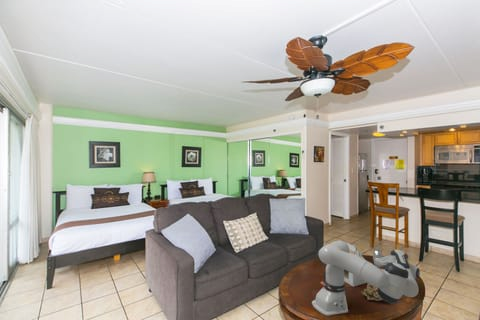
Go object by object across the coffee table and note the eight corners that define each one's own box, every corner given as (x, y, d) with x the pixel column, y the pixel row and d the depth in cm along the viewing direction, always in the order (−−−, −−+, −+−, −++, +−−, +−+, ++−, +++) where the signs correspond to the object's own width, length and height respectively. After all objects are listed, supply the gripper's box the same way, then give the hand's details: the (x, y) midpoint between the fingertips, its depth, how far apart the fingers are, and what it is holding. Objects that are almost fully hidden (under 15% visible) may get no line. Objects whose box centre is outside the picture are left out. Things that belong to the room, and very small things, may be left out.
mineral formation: (368, 290, 157) (393, 298, 145) (360, 300, 148) (386, 310, 137) (366, 279, 156) (391, 286, 145) (358, 289, 148) (383, 298, 136)
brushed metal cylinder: (379, 267, 172) (378, 252, 172) (372, 264, 177) (371, 249, 178) (384, 266, 174) (383, 251, 174) (377, 263, 180) (376, 248, 180)
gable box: (366, 283, 166) (365, 246, 166) (353, 287, 161) (352, 248, 162) (342, 270, 186) (342, 237, 187) (330, 273, 182) (330, 239, 182)
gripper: (385, 270, 160) (367, 263, 173) (403, 265, 168) (385, 258, 181) (385, 262, 160) (367, 255, 173) (402, 257, 168) (384, 250, 181)
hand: (376, 256), depth 177 cm, fingers closed on brushed metal cylinder, 6 cm apart
